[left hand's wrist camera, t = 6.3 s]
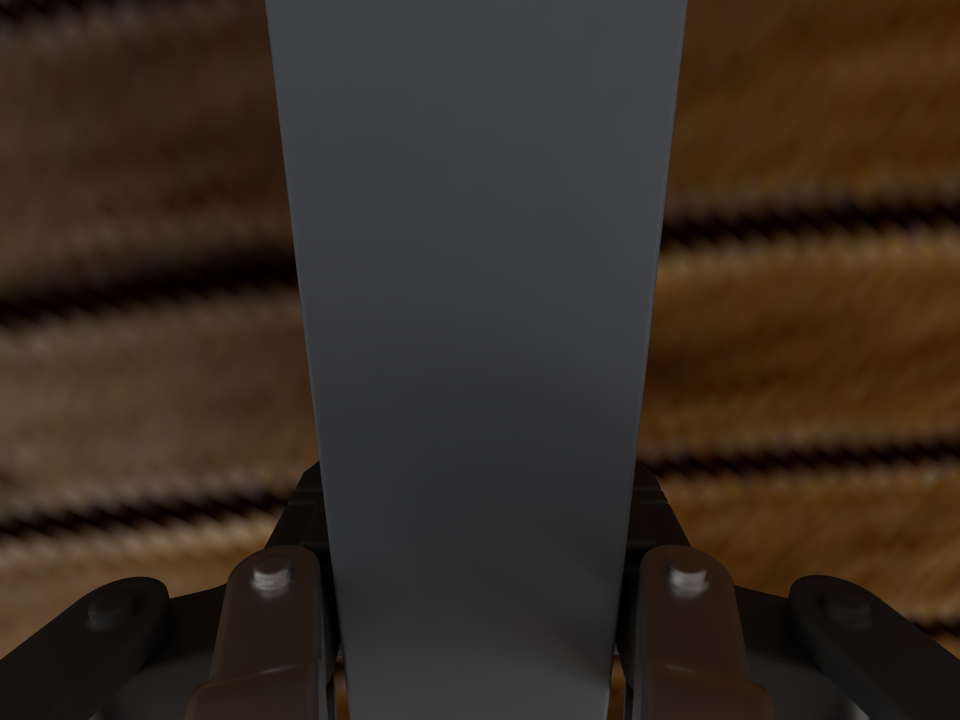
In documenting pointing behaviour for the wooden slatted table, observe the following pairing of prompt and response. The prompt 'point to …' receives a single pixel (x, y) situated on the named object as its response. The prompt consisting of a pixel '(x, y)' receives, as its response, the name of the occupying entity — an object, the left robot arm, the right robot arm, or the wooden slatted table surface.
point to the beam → (477, 330)
